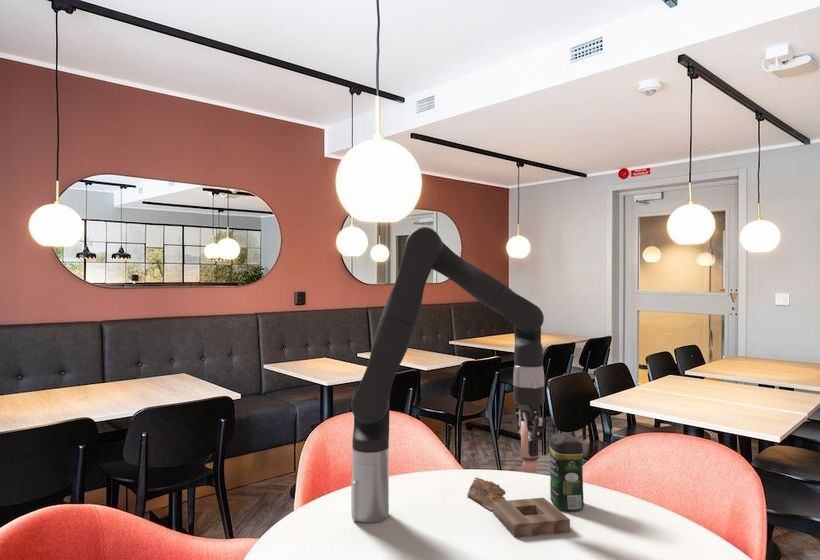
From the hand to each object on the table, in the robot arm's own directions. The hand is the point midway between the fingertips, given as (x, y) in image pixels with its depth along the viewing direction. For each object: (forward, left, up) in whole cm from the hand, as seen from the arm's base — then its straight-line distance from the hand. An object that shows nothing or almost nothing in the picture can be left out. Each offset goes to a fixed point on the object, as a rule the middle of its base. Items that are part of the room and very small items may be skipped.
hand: (529, 452), depth 134 cm
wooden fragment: (-4, +21, -18) cm, 28 cm away
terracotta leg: (0, 0, -4) cm, 4 cm away
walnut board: (0, 0, -17) cm, 17 cm away
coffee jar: (+14, +8, -17) cm, 24 cm away
